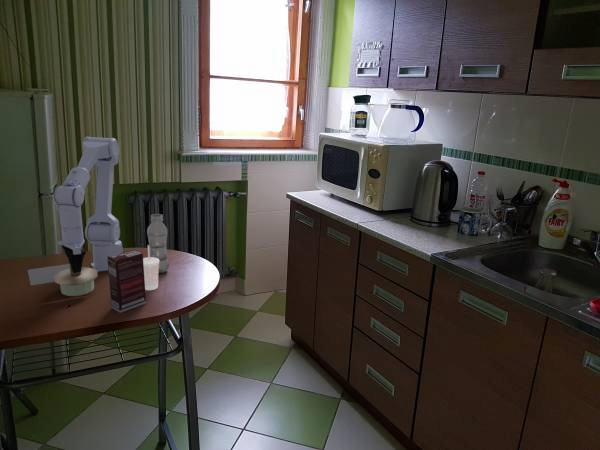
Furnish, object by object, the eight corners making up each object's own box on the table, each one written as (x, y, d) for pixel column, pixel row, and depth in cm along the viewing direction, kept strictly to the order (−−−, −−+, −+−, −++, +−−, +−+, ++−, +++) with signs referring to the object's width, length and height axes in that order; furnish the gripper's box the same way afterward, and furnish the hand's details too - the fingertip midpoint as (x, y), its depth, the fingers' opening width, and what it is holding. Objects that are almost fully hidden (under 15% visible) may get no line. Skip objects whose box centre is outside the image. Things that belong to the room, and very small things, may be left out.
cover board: (94, 267, 150) (93, 254, 149) (100, 281, 140) (99, 267, 139) (52, 273, 144) (51, 259, 143) (55, 288, 134) (53, 273, 133)
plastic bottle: (166, 276, 157) (164, 218, 151) (146, 274, 157) (143, 217, 151) (171, 268, 163) (169, 213, 157) (152, 267, 163) (149, 212, 158)
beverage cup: (160, 282, 152) (158, 241, 148) (160, 290, 146) (159, 248, 142) (140, 284, 150) (138, 242, 146) (140, 292, 145) (137, 249, 140)
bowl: (91, 282, 149) (90, 269, 148) (96, 293, 142) (95, 279, 141) (59, 287, 145) (58, 274, 143) (63, 299, 137) (61, 285, 136)
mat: (73, 264, 163) (73, 263, 163) (80, 278, 152) (80, 277, 152) (27, 271, 155) (27, 269, 155) (30, 286, 144) (30, 285, 144)
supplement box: (137, 298, 140) (134, 248, 136) (146, 303, 137) (144, 252, 133) (110, 308, 134) (106, 255, 129) (119, 313, 131) (115, 260, 126)
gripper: (53, 221, 141) (58, 263, 145) (59, 235, 129) (64, 280, 133) (79, 218, 145) (82, 259, 149) (87, 231, 133) (91, 276, 137)
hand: (75, 269), depth 141 cm, fingers open, 4 cm apart
